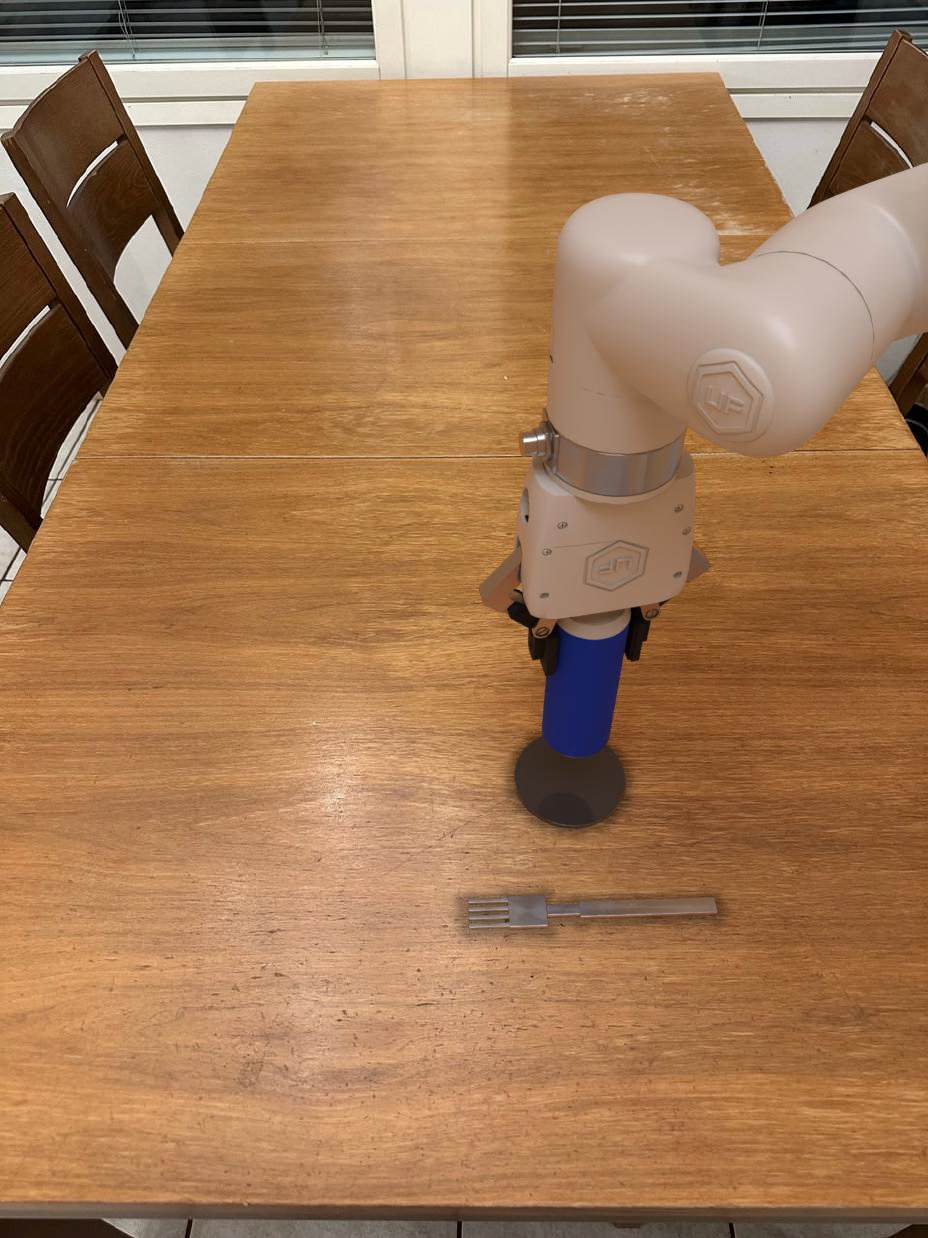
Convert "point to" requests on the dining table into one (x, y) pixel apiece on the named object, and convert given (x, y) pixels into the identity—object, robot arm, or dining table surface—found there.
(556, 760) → the coaster
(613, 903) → the fork
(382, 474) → the dining table surface
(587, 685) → the beverage can
